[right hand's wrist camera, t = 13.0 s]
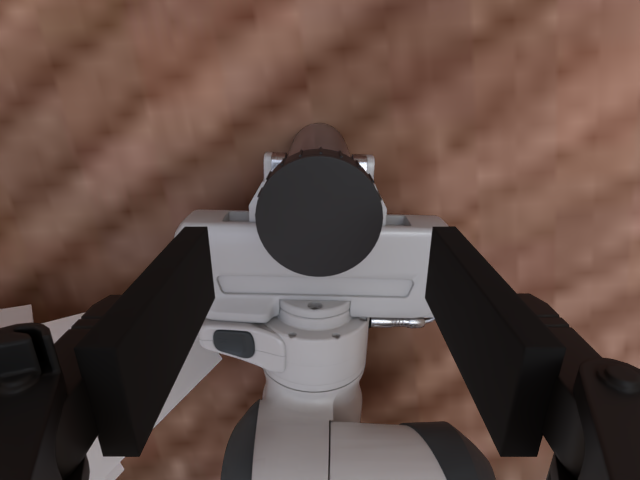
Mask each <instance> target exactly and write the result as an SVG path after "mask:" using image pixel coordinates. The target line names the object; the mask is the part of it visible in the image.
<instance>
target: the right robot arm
mask: <svg viewBox="0 0 640 480" xmlns="http://www.w3.org/2000/svg"><path fill="white" fill-rule="evenodd" d="M214 300H215V291H214V282H213V273H212V263H211V254H210V245H209V236H208V227H184V228H183V229H182V230H181V231H180V232H179V233H178V234H177V236H176V237H175V238H174V239H173V240H172V241H171V242H170V243H169V244H168V245H167V247H166V248H165V249H164V250H163V251H162V252H161V253H160V254H159V255H158V256H157V257H156V259H155V260H154V261H153V262H152V263H151V264H150V265H149V266H148V267H147V268H146V269H145V271H144V272H143V273H142V274H141V275H140V276H139V277H138V278H137V279H136V280H135V281H134V283H133V284H132V285H131V286H130V287H129V288H128V289H127V290H126V291H125V292H124V293H123V295H110V296H108V297H106V298H104V299H103V300H101V301H99V302H97V303H96V304H94V305H92V306H91V307H90V308H89V309H88V310H87V311H86V312H85V313H84V314H83V315H82V316H81V319H78V320H77V321H76V322H75V323H74V324H73V325H72V326H71V329H68V330H67V331H66V332H65V333H64V334H63V335H62V336H61V337H60V338H59V339H58V340H57V341H56V342H55V343H54V342H53V339H52V335H51V332H50V328H48V327H47V326H45V325H44V324H40V323H32V322H31V323H21V324H14V325H10V326H6V327H2V328H0V480H89V475H90V467H89V461H88V458H87V455H86V454H87V452H88V451H89V449H90V447H91V446H92V444H93V442H94V441H95V439H96V438H97V436H98V440H99V444H100V447H101V451H102V455H103V457H139V456H140V454H141V452H142V450H143V448H144V446H145V444H146V442H147V440H148V438H149V436H150V433H151V431H152V429H153V427H154V425H155V423H156V421H157V419H158V417H159V415H160V413H161V410H162V408H163V406H164V404H165V402H166V400H167V398H168V396H169V394H170V392H171V390H172V387H173V385H174V383H175V381H176V379H177V377H178V375H179V373H180V371H181V369H182V367H183V364H184V362H185V360H186V358H187V356H188V354H189V352H190V350H191V348H192V346H193V344H194V341H195V339H196V337H197V335H198V333H199V331H200V329H201V327H202V325H203V323H204V320H205V318H206V316H207V314H208V312H209V310H210V308H211V306H212V304H213V302H214ZM425 300H426V302H427V304H428V306H429V308H430V310H431V312H432V314H433V316H434V318H435V320H436V323H437V325H438V327H439V329H440V331H441V333H442V335H443V337H444V339H445V341H446V344H447V346H448V348H449V350H450V352H451V354H452V356H453V358H454V360H455V362H456V364H457V367H458V369H459V371H460V373H461V375H462V377H463V379H464V381H465V383H466V385H467V387H468V390H469V392H470V394H471V396H472V398H473V400H474V402H475V404H476V406H477V408H478V410H479V413H480V415H481V417H482V419H483V421H484V423H485V425H486V427H487V429H488V431H489V433H490V436H491V438H492V440H493V442H494V444H495V446H496V448H497V450H498V452H499V454H500V456H501V457H537V455H538V451H539V447H540V444H541V440H542V436H543V435H544V437H545V439H546V440H547V442H548V443H549V445H550V447H551V448H552V450H553V451H554V455H553V458H552V461H551V465H550V468H549V472H548V475H547V479H546V480H640V369H638V368H636V367H634V366H632V365H630V364H628V363H624V362H621V361H618V360H614V359H609V358H602V357H601V356H600V355H599V354H598V353H597V352H596V351H595V350H594V349H593V348H592V347H591V346H590V345H589V344H588V343H587V342H586V341H585V340H584V339H583V338H582V337H581V336H580V335H579V334H578V333H577V332H576V331H575V330H574V329H573V328H569V324H568V323H567V322H566V321H565V320H564V319H562V318H559V315H558V314H557V313H556V312H555V311H554V310H553V309H552V308H551V307H550V306H549V305H548V304H547V303H545V302H544V301H542V300H540V299H538V298H537V297H535V296H533V295H531V294H517V293H516V292H515V291H514V290H513V289H512V288H511V287H510V286H509V285H508V284H507V283H506V281H505V280H504V279H503V278H502V277H501V276H500V275H499V274H498V273H497V272H496V271H495V269H494V268H493V267H492V266H491V265H490V264H489V263H488V262H487V261H486V260H485V259H484V257H483V256H482V255H481V254H480V253H479V252H478V251H477V250H476V249H475V248H474V247H473V245H472V244H471V243H470V242H469V241H468V240H467V239H466V238H465V237H464V236H463V234H462V233H461V232H460V231H459V230H458V229H457V228H456V227H432V236H431V245H430V254H429V263H428V273H427V282H426V291H425Z"/></svg>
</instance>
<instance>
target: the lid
mask: <svg viewBox="0 0 640 480" xmlns="http://www.w3.org/2000/svg"><path fill="white" fill-rule="evenodd" d="M373 183H374V180H373V178H372V176H371V175H370V173H369V174H368V173H367V172H366V171H365V169H364V168H363V167H362V166H361V165H360V164H359V161H358V160H357V159H356V161H355V160H354V159H352V158H351V157H349V156H347V155H345V154H343V153H342V152H341V151H340V150H339V152H338V151H334V150H330V149H322V147H320V149H309V150H304V151H303V150H302V149H301V150H300V152H298V153H295V154H293V155H291V156H289V157H288V158H286V159H285V158H283V159H282V161H281V163H279V164H278V165H277V166H276V167H275V169H274V170H273V171H270V172H269V174H268V176H267V178H266V182H265V184H264V186H263V187H262V188H261V190H260V192H259V193H258V196H257V197H258V200H257V205H256V212H255V221H256V228H257V232H258V235H259V238H260V240H261V242H262V244H263V246H264V248H265V249H266V251H267V252H268V253H269V254H270V256H271V257H272V258H273V259H274V260H276V261H277V262H278V263H279V264H280V265H282V266H283V267H285V268H287V269H289V270H291V271H293V272H295V273H298V274H301V275H306V276H312V277H326V276H333V275H337V274H340V273H343V272H346V271H348V270H350V269H352V268H353V267H355V266H356V265H358V264H359V263H361V262H362V261H363V260H364V259H365V258H366V257H367V256H368V255H369V254H370V252H371V251H372V250H373V248H374V247H375V245H376V243H377V241H378V239H379V236H380V233H381V230H382V224H383V208H382V203H381V200H382V198H381V196H380V194H379V192H378V190H376V188H375V186H374V184H373Z"/></svg>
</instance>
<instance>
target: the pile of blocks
mask: <svg viewBox="0 0 640 480" xmlns="http://www.w3.org/2000/svg"><path fill="white" fill-rule="evenodd" d="M83 314H84V313H81V314H77V315H73V316H69V317H65V318H61V319H57V320H53V321H49V322H45V323H41V324H44V325H45V326H47V327H48V328H50V332H51V335H52V339H53V342H54V343H55V342H56V341H57V340H58V339H59V338H60V337H61V336H62V335H63V334H64V333H65V332H66V331H67V330H68V329H71V326H72V325H73V324H74V323H75V322H76V321H77V320H78V319H81V316H82V315H83ZM31 322H32V323H34V319H33V312H32V306H31V304H30V305H24V306H18V307H11V308H5V309H0V328H2V327H6V326H10V325H14V324H21V323H31ZM221 360H222V357H221V356H220V355H219V353H217V352H213V351H210V350H207V349H205V348H204V347H202V346H201V344H200V342H199V336H198V335H197V337H196V339H195V341H194V344H193V346H192V348H191V350H190V352H189V354H188V356H187V358H186V360H185V362H184V364H183V367H182V369H181V371H180V373H179V375H178V377H177V379H176V381H175V383H174V385H173V387H172V390H171V392H170V394H169V396H168V398H167V400H166V402H165V404H164V406H163V408H162V410H161V413H160V415H159V417H158V419H157V421H156V423H155V425H154V427H155V426H156V425H157V424H158V423H159V422H160V421H161V420H162V419H163V418H164V417H165V416H166V415H167V414H168V413H169V412H170V411H171V410H172V409H173V408H174V407H175V406H176V405H177V404H178V403H179V402H180V401H181V400H182V399H183V398H184V397H185V396H186V395H187V394H188V393H189V392H190V391H191V390H192V389H193V388H194V387H195V386H196V385H197V384H198V383H199V382H200V381H201V380H202V379H203V378H204V377H205V376H206V375H207V374H208V373H209V372H210V371H211V370H212V369H213V368H214V367H215V366H216V365H217V364H218V363H219V362H220V361H221ZM154 427H153V428H154ZM86 455H87V458H88V461H89V467H90V475H89V480H115V479H116V478H117V477H118V476H119V475H120V474H121V473H122V472H123V471H124V468H123V466H122V465H121V463H120V462H121V461H122V460H123V459H124V457H103V455H102V451H101V447H100V444H99V440H98V436H97V438H96V439H95V441H94V442H93V444H92V446H91V447H90V449H89V451H88V452H87V454H86Z"/></svg>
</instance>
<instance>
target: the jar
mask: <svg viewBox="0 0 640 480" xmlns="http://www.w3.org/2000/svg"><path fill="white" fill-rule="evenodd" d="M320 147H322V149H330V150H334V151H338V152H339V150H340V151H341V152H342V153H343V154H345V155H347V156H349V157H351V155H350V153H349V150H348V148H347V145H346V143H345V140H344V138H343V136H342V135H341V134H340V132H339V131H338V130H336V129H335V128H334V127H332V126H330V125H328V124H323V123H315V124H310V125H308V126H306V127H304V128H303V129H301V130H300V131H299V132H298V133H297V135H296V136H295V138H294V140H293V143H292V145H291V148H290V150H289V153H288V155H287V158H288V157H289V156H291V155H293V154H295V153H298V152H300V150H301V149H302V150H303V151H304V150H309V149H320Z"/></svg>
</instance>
